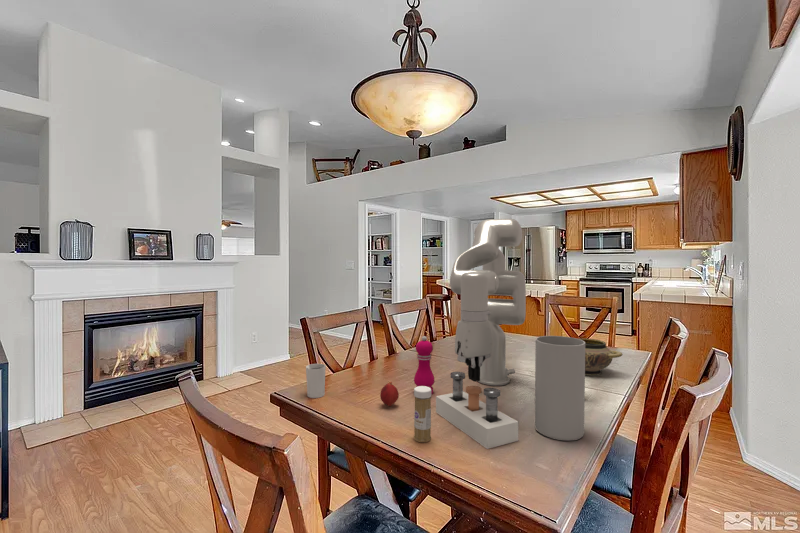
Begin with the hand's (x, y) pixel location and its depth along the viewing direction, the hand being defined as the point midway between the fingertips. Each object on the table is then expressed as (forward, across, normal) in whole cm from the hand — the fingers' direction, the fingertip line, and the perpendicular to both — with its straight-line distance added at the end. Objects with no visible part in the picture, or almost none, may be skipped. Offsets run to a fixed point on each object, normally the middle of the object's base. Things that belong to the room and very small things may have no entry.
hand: (474, 379), depth 110 cm
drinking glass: (+13, +36, -42) cm, 57 cm away
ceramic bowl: (+15, -72, -20) cm, 76 cm away
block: (+13, +1, +1) cm, 13 cm away
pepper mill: (+14, +1, -28) cm, 31 cm away
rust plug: (+10, +1, +1) cm, 10 cm away
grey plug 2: (+8, +1, +9) cm, 12 cm away
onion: (+13, +17, -22) cm, 31 cm away
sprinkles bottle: (+13, +18, +2) cm, 22 cm away
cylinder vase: (+13, -18, +14) cm, 26 cm away
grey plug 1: (+8, +1, -7) cm, 11 cm away
